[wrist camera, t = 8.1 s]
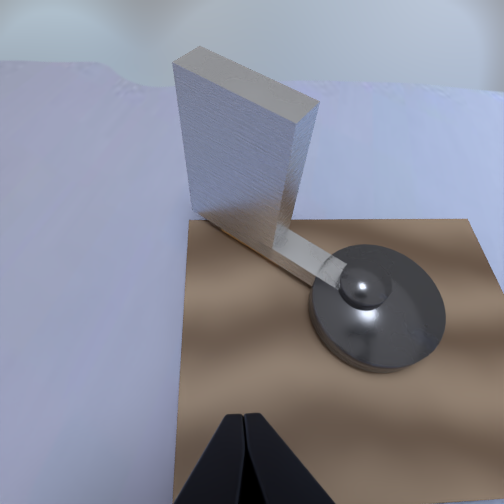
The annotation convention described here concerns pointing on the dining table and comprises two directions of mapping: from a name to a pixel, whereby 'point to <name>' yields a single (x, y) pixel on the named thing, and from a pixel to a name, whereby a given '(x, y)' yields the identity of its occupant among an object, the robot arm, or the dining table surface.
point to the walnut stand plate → (348, 368)
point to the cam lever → (281, 209)
